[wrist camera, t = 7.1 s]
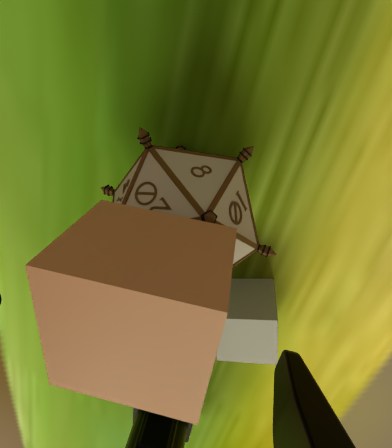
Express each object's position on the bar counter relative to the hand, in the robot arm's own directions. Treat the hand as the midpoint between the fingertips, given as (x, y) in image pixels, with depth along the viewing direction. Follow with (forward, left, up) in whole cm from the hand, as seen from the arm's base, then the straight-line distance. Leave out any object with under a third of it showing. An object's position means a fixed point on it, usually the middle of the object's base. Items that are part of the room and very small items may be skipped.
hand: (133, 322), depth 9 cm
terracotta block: (0, 0, -3) cm, 3 cm away
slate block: (-8, -5, -11) cm, 15 cm away
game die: (0, 0, -11) cm, 11 cm away
